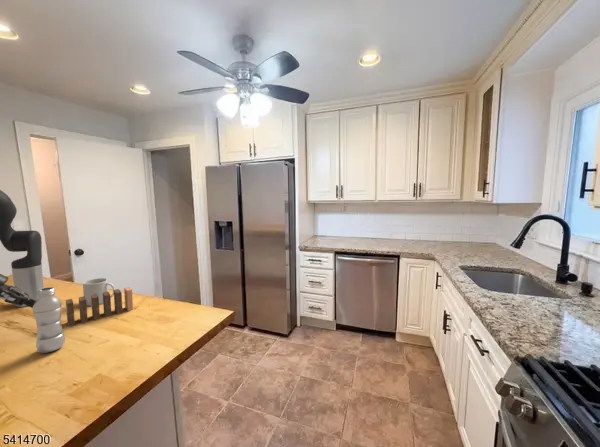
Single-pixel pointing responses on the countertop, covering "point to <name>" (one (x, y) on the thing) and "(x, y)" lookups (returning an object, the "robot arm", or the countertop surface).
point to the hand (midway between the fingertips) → (38, 306)
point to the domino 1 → (70, 312)
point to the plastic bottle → (48, 321)
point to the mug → (96, 289)
